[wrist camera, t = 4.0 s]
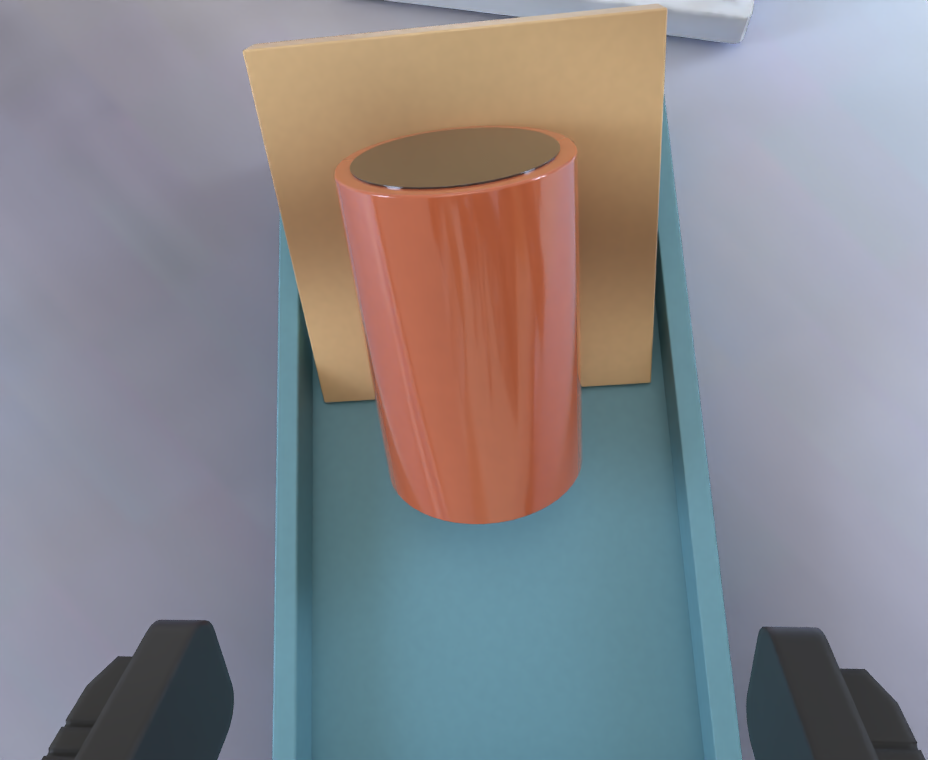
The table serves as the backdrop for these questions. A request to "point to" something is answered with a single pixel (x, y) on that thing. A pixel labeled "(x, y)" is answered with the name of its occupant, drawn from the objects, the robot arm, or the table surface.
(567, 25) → the wooden stand
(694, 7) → the file sorter
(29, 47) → the table surface
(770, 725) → the robot arm
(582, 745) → the tray
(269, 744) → the table surface
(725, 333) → the table surface
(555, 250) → the orange cylinder
